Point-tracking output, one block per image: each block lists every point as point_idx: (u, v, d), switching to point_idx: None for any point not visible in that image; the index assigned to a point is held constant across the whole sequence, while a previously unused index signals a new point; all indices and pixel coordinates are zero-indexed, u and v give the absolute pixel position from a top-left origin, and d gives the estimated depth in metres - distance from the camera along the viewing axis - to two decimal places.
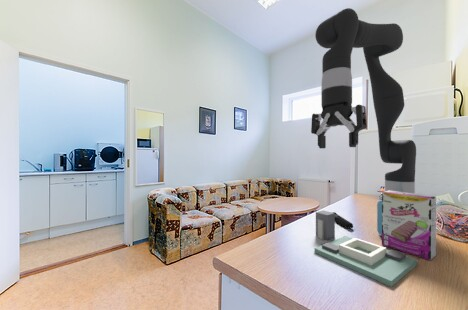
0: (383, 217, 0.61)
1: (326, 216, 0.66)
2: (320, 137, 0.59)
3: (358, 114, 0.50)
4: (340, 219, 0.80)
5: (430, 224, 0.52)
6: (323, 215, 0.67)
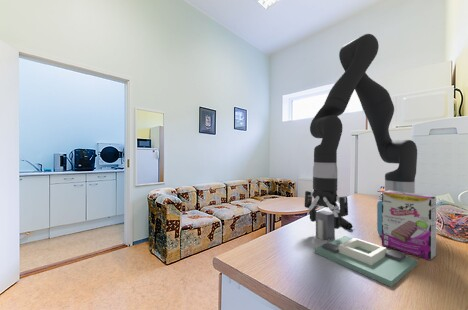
0: (383, 217, 0.61)
1: (326, 216, 0.66)
2: (311, 212, 0.71)
3: (341, 204, 0.62)
4: None
5: (430, 224, 0.52)
6: (323, 215, 0.67)
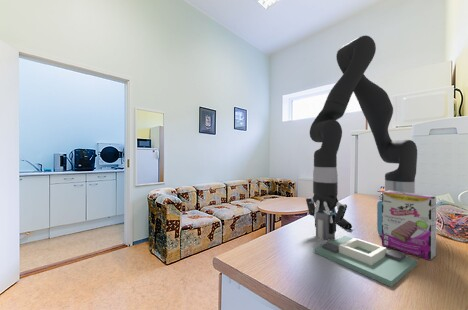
0: (383, 217, 0.61)
1: (326, 216, 0.66)
2: None
3: (339, 212, 0.63)
4: None
5: (430, 224, 0.52)
6: (323, 215, 0.67)
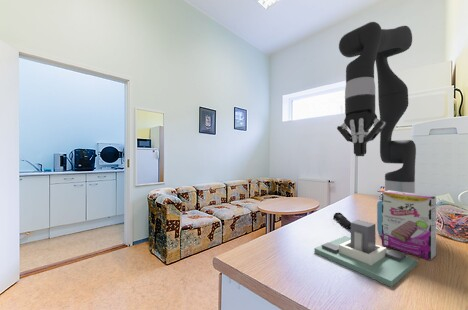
0: (383, 217, 0.61)
1: (366, 228, 0.51)
2: (357, 145, 0.59)
3: (374, 128, 0.55)
4: (342, 219, 0.80)
5: (430, 224, 0.52)
6: (362, 227, 0.52)
